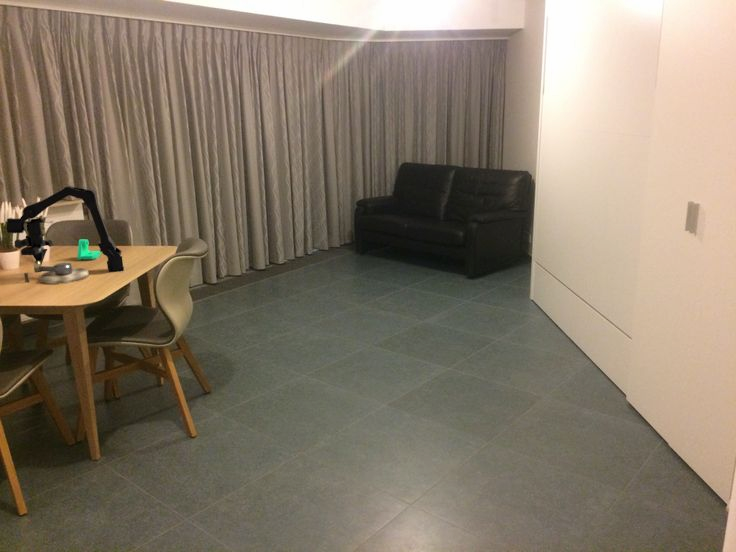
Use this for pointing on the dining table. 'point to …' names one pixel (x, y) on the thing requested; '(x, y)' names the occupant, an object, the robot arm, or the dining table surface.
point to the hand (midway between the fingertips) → (39, 265)
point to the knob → (53, 268)
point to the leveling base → (61, 276)
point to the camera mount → (86, 250)
